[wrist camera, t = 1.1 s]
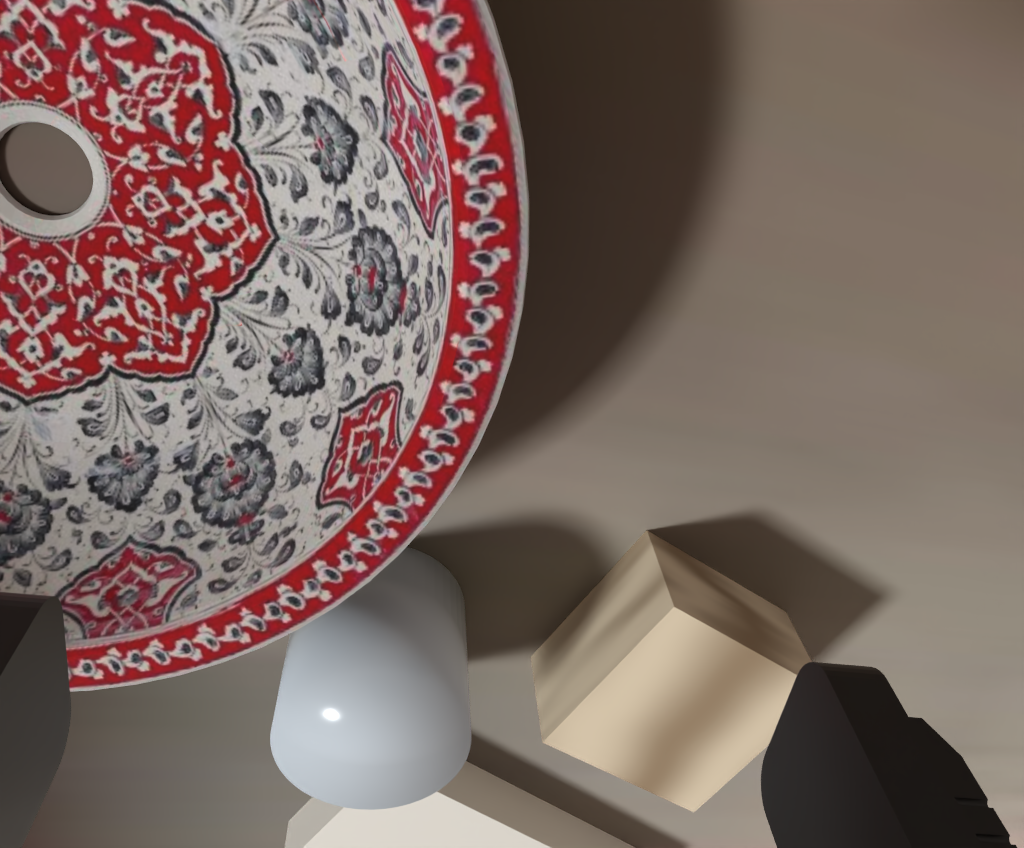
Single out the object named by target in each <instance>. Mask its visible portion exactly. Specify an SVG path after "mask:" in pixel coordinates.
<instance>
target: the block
mask: <svg viewBox="0 0 1024 848" xmlns="http://www.w3.org/2000/svg"><path fill="white" fill-rule="evenodd" d="M809 662H812V661H811V659H810V657H809V655H808V654H807V652H806V650H805V648H804V646H803V644H802V642H801V640H800V638H799V636H798V634H797V632H796V630H795V628H794V626H793V624H792V623H791V621H790V619H789V617H788V615H787V613H786V612H785V611H784V610H782V609H780V608H779V607H777V606H775V605H773V604H772V603H770V602H768V601H767V600H765V599H763V598H761V597H760V596H758V595H756V594H755V593H753V592H751V591H750V590H748V589H746V588H744V587H743V586H741V585H739V584H738V583H736V582H734V581H733V580H731V579H729V578H727V577H726V576H724V575H722V574H721V573H719V572H717V571H715V570H714V569H712V568H710V567H709V566H707V565H705V564H704V563H702V562H700V561H698V560H697V559H695V558H693V557H692V556H690V555H688V554H686V553H685V552H683V551H681V550H680V549H678V548H676V547H675V546H673V545H671V544H669V543H668V542H666V541H664V540H663V539H661V538H659V537H658V536H656V535H654V534H652V533H651V532H649V531H646V532H645V533H644V534H643V535H642V536H641V537H640V538H639V539H638V540H637V541H636V543H635V544H634V545H633V546H632V547H631V548H630V549H629V550H628V551H627V552H626V554H625V555H624V556H623V557H622V558H621V559H620V560H619V561H618V562H617V563H616V564H615V566H614V567H613V568H612V569H611V570H610V571H609V572H608V573H607V574H606V575H605V576H604V578H603V579H602V580H601V581H600V582H599V583H598V584H597V585H596V586H595V587H594V588H593V590H592V591H591V592H590V593H589V594H588V595H587V596H586V597H585V598H584V599H583V600H582V602H581V603H580V604H579V605H578V606H577V607H576V608H575V609H574V610H573V611H572V613H571V614H570V615H569V616H568V617H567V618H566V619H565V620H564V621H563V622H562V623H561V625H560V626H559V627H558V628H557V629H556V630H555V631H554V632H553V633H552V634H551V635H550V637H549V638H548V639H547V640H546V641H545V642H544V643H543V644H542V645H541V646H540V647H539V649H538V650H537V651H536V652H535V653H534V654H533V655H532V656H531V663H532V670H533V677H534V684H535V691H536V699H537V706H538V713H539V720H540V727H541V734H542V742H543V743H545V744H547V745H549V746H551V747H554V748H556V749H558V750H560V751H562V752H564V753H567V754H569V755H571V756H573V757H575V758H577V759H580V760H582V761H584V762H586V763H588V764H590V765H593V766H595V767H597V768H599V769H601V770H603V771H606V772H608V773H610V774H612V775H614V776H616V777H619V778H621V779H623V780H625V781H627V782H629V783H632V784H634V785H636V786H638V787H640V788H642V789H645V790H647V791H649V792H651V793H653V794H655V795H658V796H660V797H662V798H664V799H666V800H668V801H671V802H673V803H675V804H677V805H679V806H681V807H684V808H686V809H688V810H690V811H692V812H695V811H696V810H697V809H698V808H699V807H700V806H702V805H703V804H704V803H705V802H706V801H707V800H708V799H709V798H710V797H712V796H713V795H714V794H715V793H716V792H717V791H718V790H719V789H720V788H722V787H723V786H724V785H725V784H726V783H727V782H728V781H729V780H730V779H731V778H733V777H734V776H735V775H736V774H737V773H738V772H739V771H740V770H741V769H743V768H744V767H745V766H746V765H747V764H748V763H749V762H750V761H751V760H753V759H754V758H755V757H756V756H757V755H758V754H759V753H760V752H761V751H763V750H764V749H765V748H766V747H767V746H768V745H769V743H770V741H771V738H772V736H773V734H774V731H775V729H776V726H777V724H778V721H779V719H780V716H781V714H782V711H783V709H784V706H785V704H786V701H787V699H788V697H789V694H790V692H791V689H792V687H793V684H794V682H795V679H796V677H797V675H798V673H799V671H800V669H801V668H802V667H803V666H804V665H805V664H807V663H809Z"/></svg>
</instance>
